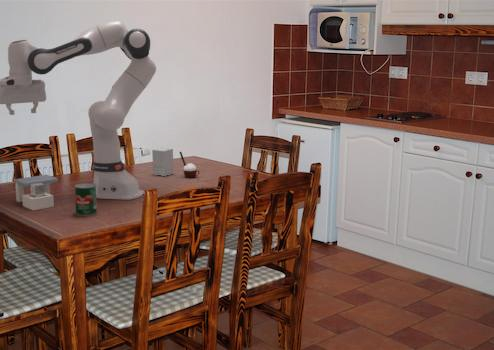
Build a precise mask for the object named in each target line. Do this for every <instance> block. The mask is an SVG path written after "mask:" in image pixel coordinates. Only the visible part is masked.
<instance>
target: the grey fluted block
mask: <svg viewBox="0 0 494 350" xmlns="http://www.w3.org/2000/svg"><path fill="white" fill-rule="evenodd" d="M151 151H152V176H157V175H161V176H160V177H163V176H165V177H167V176H166V175H169V176H171V175H170V174H173V175H174V150H173V148H165V147H159V148H154V149H152V150H151Z"/></svg>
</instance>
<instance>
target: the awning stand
mask: <svg viewBox="0 0 494 350" xmlns="http://www.w3.org/2000/svg"><path fill="white" fill-rule="evenodd" d="M13 180H14V183H15V197H16V200H15V201H16V202H18V203H21V202H22V207H24V208H26V209H28V210H31V211H37V210H43V209H49V208H54V207H55V202H54V195H53V194H51V189H50V188H51V186H50V185H51V184H52V183H57V182H59V178H57V177H54V176H52V175H49V174H41V175H40V174H39V175H35V176H29V177H21V178H15V179H13ZM35 183H42V184H44V186H45V196H42V197H36V198H33V197H31V193H27V194H25V188H28V187H30V184H35Z"/></svg>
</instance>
